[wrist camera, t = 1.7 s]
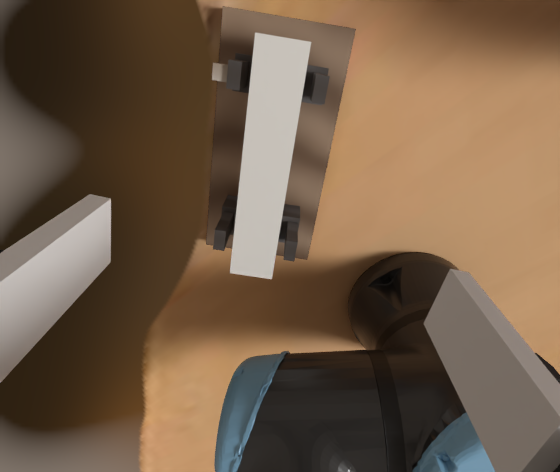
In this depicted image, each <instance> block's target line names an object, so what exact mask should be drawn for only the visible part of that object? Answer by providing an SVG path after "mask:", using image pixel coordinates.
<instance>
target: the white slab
mask: <svg viewBox="0 0 560 472" xmlns="http://www.w3.org/2000/svg"><path fill="white" fill-rule="evenodd" d="M310 47H311V42H309V41H303V40H297V39H291V38H285V37H279V36H273V35H267V34H261V33H255V39H254V48H253V58H252V67H251V77H250V86H249V95H248V105H247V114H246V124H245V133H244V143H243V152H242V162H241V171H240V181H239V190H238V200H237V209H236V218H235V228H234V237H233V247H232V256H231V266H230V273H233V274H239V275H246V276H253V277H259V278H266V279H272V275H273V269H274V263H275V257H276V251H277V245H278V239H279V233H280V227H281V221H282V215H283V209H284V203H285V197H286V191H287V185H288V179H289V173H290V167H291V161H292V155H293V149H294V143H295V137H296V131H297V125H298V119H299V113H300V107H301V101H302V95H303V89H304V83H305V77H306V71H307V65H308V59H309V53H310Z"/></svg>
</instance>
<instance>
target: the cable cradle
mask: <svg viewBox="0 0 560 472" xmlns="http://www.w3.org/2000/svg"><path fill="white" fill-rule="evenodd" d="M355 30H356V29H353V28H347V27H342V26H336V25H330V24H324V23H318V22H312V21H307V20H301V19H295V18H289V17H283V16H277V15H271V14H266V13H260V12H254V11H248V10H242V9H236V8H231V7H225V6H223V10H222V24H221V38H220V53H219V63H213V70H212V80H215V81H217V96H216V110H215V124H214V139H213V153H212V167H211V182H210V196H209V210H208V225H207V239H206V244H207V245H213V249H216V250H222V251H224V249H225V247H226V248H232V247H233V237H234V228H235V218H236V209H237V200H238V190H239V181H240V171H241V162H242V152H243V143H244V133H245V124H246V114H247V105H248V95H249V86H250V77H251V67H252V58H253V48H254V39H255V33H261V34H267V35H273V36H279V37H285V38H291V39H297V40H303V41H309V42H311V47H310V53H309V59H308V65H307V71H306V77H305V83H304V89H303V95H302V101H301V107H300V113H299V119H298V125H297V131H296V137H295V143H294V149H293V155H292V161H291V167H290V173H289V179H288V185H287V191H286V197H285V203H284V209H283V215H282V221H281V227H280V233H279V239H278V245H277V251H276V255H279V256H284V260H288V261H294V260H295V258H299V259H306V260H307V258H308V254H309V249H310V244H311V239H312V235H313V230H314V225H315V220H316V216H317V211H318V206H319V201H320V197H321V192H322V187H323V182H324V178H325V173H326V168H327V163H328V159H329V154H330V149H331V144H332V140H333V135H334V130H335V125H336V121H337V116H338V111H339V106H340V102H341V97H342V92H343V87H344V83H345V78H346V73H347V68H348V64H349V59H350V54H351V49H352V45H353V40H354V35H355Z"/></svg>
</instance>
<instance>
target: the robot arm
mask: <svg viewBox="0 0 560 472" xmlns="http://www.w3.org/2000/svg"><path fill="white" fill-rule="evenodd" d="M110 262H111V199H110V198H105V197H100V196H96V195H91V194H90V195H88V196H87V197H85V198H84V199H82V200H81V201H79V202H78V203H76V204H75V205H73V206H71V207H70V208H68V209H67V210H65V211H64V212H62V213H61V214H59V215H58V216H56V217H55V218H53V219H52V220H50V221H49V222H47V223H46V224H44V225H43V226H41V227H40V228H38V229H36V230H35V231H33V232H32V233H30V234H29V235H27V236H26V237H24V238H23V239H21V240H20V241H18V242H17V243H15V244H14V245H12V246H11V247H9V248H7V249H6V250H0V383H1V382H2V381H3V379H4V378H5V377H6V376H7V375H8V374H9V373H10V372H11V371H12V370H13V368H14V367H15V366H16V365H17V364H18V363H19V362H20V361H21V360H22V359H23V357H24V356H25V355H26V354H27V353H28V352H29V351H30V350H31V349H32V347H34V345H35V344H36V343H37V342H38V341H39V340H40V339H41V338H42V337H43V336H44V334H45V333H46V332H47V331H48V330H49V329H50V328H51V327H52V326H53V325H54V324H55V322H56V321H57V320H58V319H59V318H60V317H61V316H62V315H63V314H64V312H65V311H66V310H67V309H68V308H69V307H70V306H71V305H72V304H73V303H74V302H75V301H76V299H77V298H78V297H79V296H80V295H81V294H82V293H83V292H84V291H85V289H86V288H87V287H88V286H89V285H90V284H91V283H92V282H93V281H94V280H95V279H96V277H97V276H98V275H99V274H100V273H101V272H102V271H103V270H104V269H105V268H106V266H107V265H108V264H109V263H110ZM348 313H349V318H350V322H351V327H352V330H353V332H354V334H355V336H356V338H357V339H358V341H359V342H360V343H361V344H362V345H363V346H364V347H365V349H366V350H353V351H333V352H314V353H294V354H290V353H289V351H284V352H282V353H281V354H272V355H262V356H254V357H250V358H248V359H246V360H245V361H243V362H242V363H241V364H240V365H239V366H238V368H237V369H236V371H235V372H234V374H233V376H232V379H231V381H230V383H229V386H228V389H227V392H226V396H225V399H224V403H223V407H222V411H221V416H220V421H219V427H218V434H217V442H216V451H215V471H216V472H560V375H559V373H558V372H557V371H556V370H555V369H554V367H553V366H551V365H550V364H549V363H548V362H546V361H545V360H544V359H543V358H542V357H540V356H539V355H538V354H537V353H534V352H533V351H532V349H531V348H530V347H529V346H528V344H527V343H526V342H525V341H524V340H523V338H522V337H521V336H520V335H519V333H518V332H517V331H516V330H515V328H514V327H513V326H512V325H511V324H510V322H509V321H508V320H507V319H506V317H505V316H504V315H503V314H502V313H501V311H500V310H499V309H498V308H497V306H496V305H495V304H494V303H493V301H492V300H491V299H490V298H489V297H488V295H487V294H486V293H485V292H484V290H483V289H482V288H481V287H480V285H479V284H478V283H477V282H476V281H475V279H474V278H473V277H472V276H471V274H470V273H469V272H464V271H459V270H458V269H457V268H456V267H455V266H454V265H453V264H452V263H450V262H449V261H447V260H445V259H443V258H441V257H438V256H435V255H432V254H427V253H405V254H399V255H395V256H392V257H389V258H386V259H384V260H382V261H380V262H378V263H376V264H375V265H373V266H372V267H370V268H369V269H368V270H367V271H365V272H364V273H363V274H362V275H361V277H360V278H359V279H358V280H357V282H356V283H355V285H354V287H353V288H352V291H351V293H350V296H349V301H348Z"/></svg>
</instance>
